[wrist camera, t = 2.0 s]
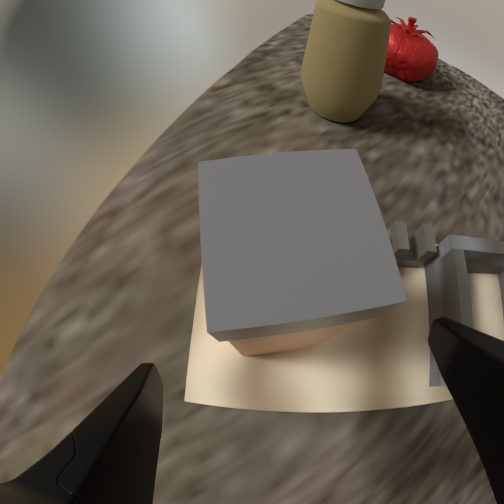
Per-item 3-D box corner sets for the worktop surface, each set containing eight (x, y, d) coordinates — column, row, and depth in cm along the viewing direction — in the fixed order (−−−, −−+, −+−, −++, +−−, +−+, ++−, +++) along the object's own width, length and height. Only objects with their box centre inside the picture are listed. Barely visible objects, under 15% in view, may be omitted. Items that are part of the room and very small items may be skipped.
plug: (318, 348, 17) (406, 300, 6) (241, 358, 17) (207, 332, 6) (305, 276, 19) (355, 148, 8) (232, 285, 19) (198, 162, 8)
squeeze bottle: (292, 84, 29) (301, -62, 13) (359, 88, 29) (389, -46, 13) (303, 130, 26) (324, -55, 10) (380, 134, 26) (434, -26, 10)
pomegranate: (435, 79, 32) (455, 33, 23) (414, 97, 29) (439, 41, 21) (382, 46, 35) (395, 0, 26) (351, 59, 32) (365, 3, 23)
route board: (496, 255, 20) (528, 232, 16) (506, 384, 16) (545, 379, 11) (209, 233, 22) (197, 195, 17) (188, 400, 17) (165, 407, 13)
